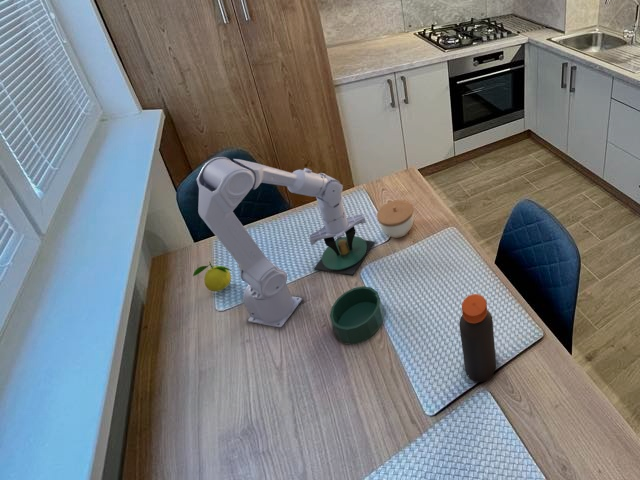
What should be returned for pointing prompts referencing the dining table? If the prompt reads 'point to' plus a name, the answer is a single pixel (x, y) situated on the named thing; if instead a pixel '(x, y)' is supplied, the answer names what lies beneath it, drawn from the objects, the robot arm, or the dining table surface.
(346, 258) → the tin lid
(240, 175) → the robot arm
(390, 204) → the trinket box
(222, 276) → the lemon
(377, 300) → the tin
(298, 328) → the dining table surface
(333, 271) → the mat
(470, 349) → the bottle
